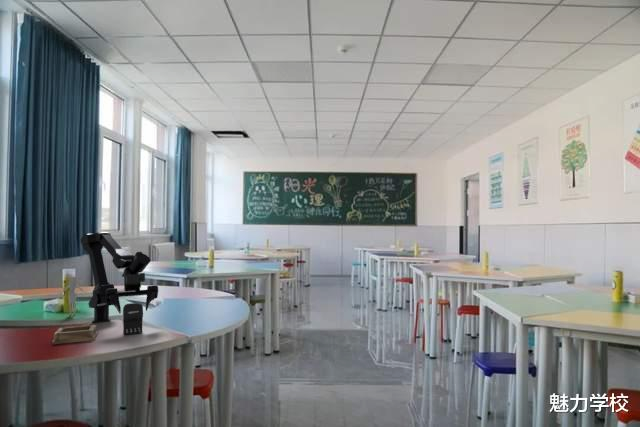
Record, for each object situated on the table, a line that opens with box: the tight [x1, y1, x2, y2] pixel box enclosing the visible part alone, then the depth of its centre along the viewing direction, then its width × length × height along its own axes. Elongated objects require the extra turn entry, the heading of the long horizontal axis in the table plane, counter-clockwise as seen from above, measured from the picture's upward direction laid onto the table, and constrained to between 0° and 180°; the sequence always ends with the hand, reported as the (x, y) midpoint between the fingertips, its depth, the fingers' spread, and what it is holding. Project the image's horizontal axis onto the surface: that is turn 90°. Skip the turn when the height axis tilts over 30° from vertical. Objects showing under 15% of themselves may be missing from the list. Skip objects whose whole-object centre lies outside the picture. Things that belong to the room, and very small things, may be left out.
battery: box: [122, 302, 144, 336], centre depth 153 cm, size 7×4×11 cm, turn 121°
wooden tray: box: [51, 324, 99, 346], centre depth 147 cm, size 10×13×4 cm
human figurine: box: [57, 276, 88, 316], centre depth 187 cm, size 12×4×18 cm, turn 126°
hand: (133, 311), depth 154 cm, fingers open, 9 cm apart
